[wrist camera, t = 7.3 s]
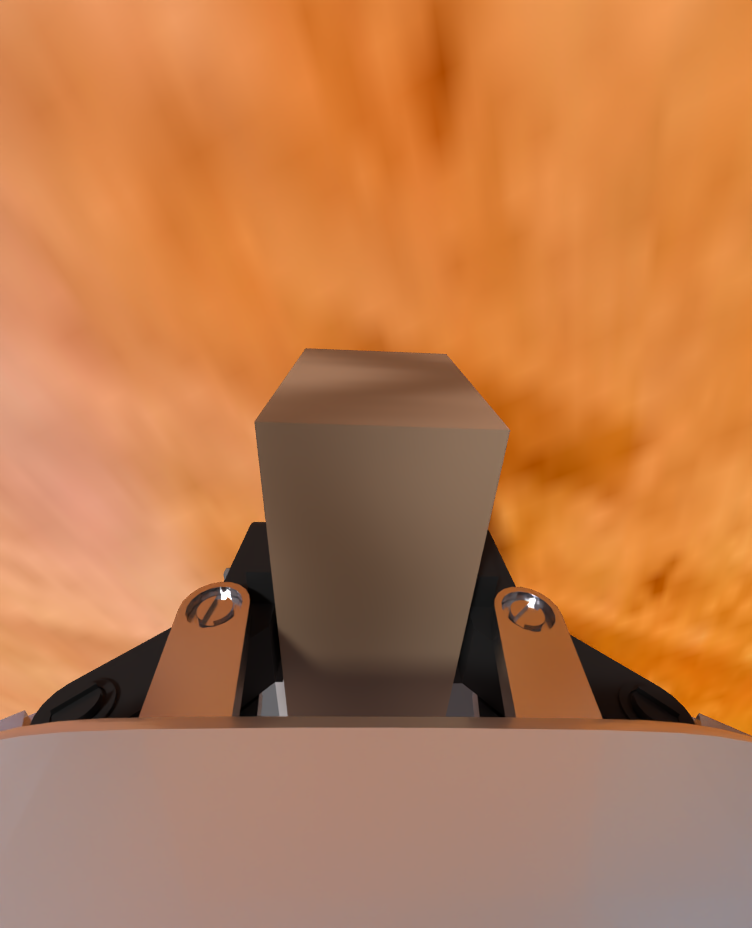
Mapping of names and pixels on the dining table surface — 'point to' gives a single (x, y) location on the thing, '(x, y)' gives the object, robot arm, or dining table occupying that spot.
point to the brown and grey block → (375, 527)
